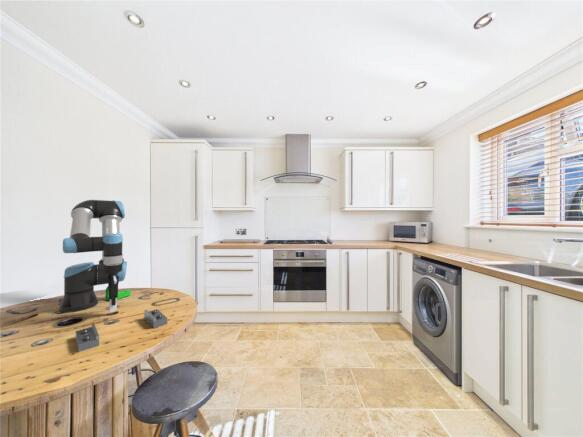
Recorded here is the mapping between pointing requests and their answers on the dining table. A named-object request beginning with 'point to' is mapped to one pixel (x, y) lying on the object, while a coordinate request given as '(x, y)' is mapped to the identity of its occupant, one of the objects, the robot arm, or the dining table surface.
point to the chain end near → (87, 338)
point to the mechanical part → (119, 293)
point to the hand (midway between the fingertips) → (113, 311)
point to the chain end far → (155, 318)
